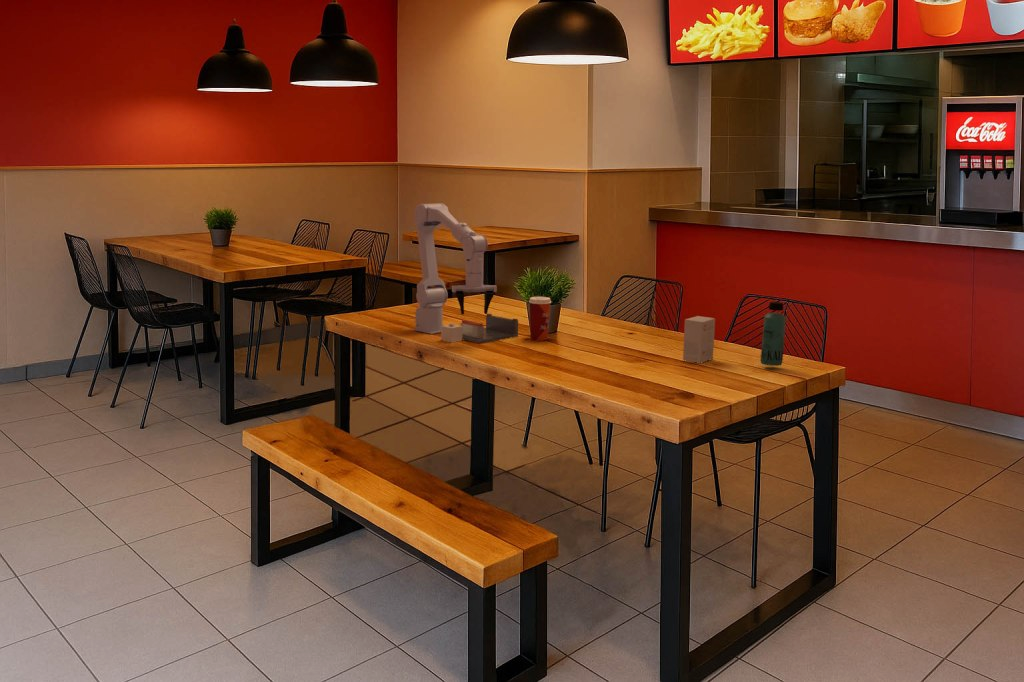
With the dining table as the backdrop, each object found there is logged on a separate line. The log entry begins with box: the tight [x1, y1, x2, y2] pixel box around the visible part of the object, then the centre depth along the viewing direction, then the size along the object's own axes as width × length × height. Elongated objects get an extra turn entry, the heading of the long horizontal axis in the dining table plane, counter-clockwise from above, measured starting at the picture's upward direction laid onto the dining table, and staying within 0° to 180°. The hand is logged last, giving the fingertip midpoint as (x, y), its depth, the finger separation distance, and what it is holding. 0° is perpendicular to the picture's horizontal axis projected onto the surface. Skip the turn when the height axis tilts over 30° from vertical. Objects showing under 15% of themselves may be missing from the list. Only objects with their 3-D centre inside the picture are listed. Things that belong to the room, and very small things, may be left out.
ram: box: [460, 319, 485, 338], centre depth 309 cm, size 9×3×5 cm, turn 47°
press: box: [462, 313, 519, 344], centre depth 313 cm, size 14×18×6 cm
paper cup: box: [528, 296, 552, 342], centre depth 310 cm, size 8×8×14 cm
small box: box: [682, 315, 716, 364], centre depth 283 cm, size 8×6×13 cm
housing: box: [440, 323, 463, 343], centre depth 306 cm, size 5×5×6 cm
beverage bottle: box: [760, 301, 787, 367], centre depth 273 cm, size 6×7×20 cm
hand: (474, 313), depth 303 cm, fingers open, 7 cm apart
